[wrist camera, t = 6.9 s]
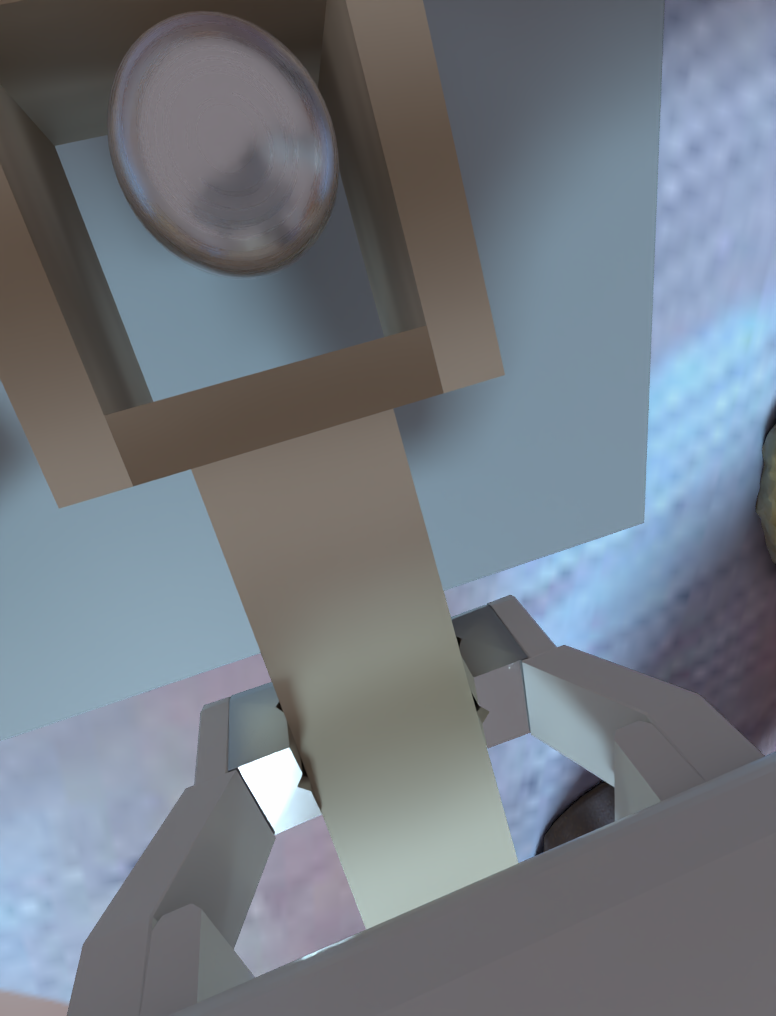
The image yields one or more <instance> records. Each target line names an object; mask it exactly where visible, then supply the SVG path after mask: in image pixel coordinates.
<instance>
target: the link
mask: <svg viewBox="0 0 776 1016" xmlns="http://www.w3.org/2000/svg"><path fill="white" fill-rule="evenodd" d="M196 11H211V12H221V13H225V14H229V15H233V16H237V17H239V18H242V19H244V20H247V21H249V22H251V23H253V24H255V25H257V26H259V27H260V28H262V29H264V30H265V31H267V32H269V33H270V34H271V35H272V36H274V37H275V38H276V39H278V40H279V41H280V42H282V43H283V44H284V45H285V46H286V47H287V48H288V49H289V50H290V51H291V52H292V53H293V54H294V55H295V56H296V57H297V59H298V60H299V61H300V62H301V63H302V65H303V66H304V67H305V68H306V70H307V71H308V73H309V74H310V76H311V77H312V79H313V80H314V82H315V84H316V85H317V87H318V89H319V91H320V93H321V95H322V97H323V99H324V101H325V104H326V106H327V109H328V112H329V114H330V117H331V120H332V124H333V128H334V132H335V136H336V142H337V148H338V158H339V171H340V175H341V179H342V183H343V186H344V190H345V194H346V197H347V201H348V205H349V208H350V212H351V216H352V219H353V223H354V227H355V231H356V234H357V238H358V242H359V245H360V249H361V253H362V256H363V260H364V264H365V268H366V271H367V275H368V279H369V282H370V286H371V290H372V293H373V297H374V301H375V305H376V308H377V312H378V316H379V319H380V323H381V327H382V330H383V334H384V337H383V338H379V339H376V340H372V341H369V342H365V343H362V344H358V345H354V346H351V347H347V348H344V349H340V350H337V351H333V352H329V353H326V354H322V355H319V356H315V357H312V358H308V359H305V360H301V361H297V362H294V363H290V364H287V365H283V366H280V367H276V368H272V369H269V370H265V371H262V372H258V373H255V374H251V375H247V376H244V377H240V378H237V379H233V380H230V381H226V382H222V383H219V384H215V385H212V386H208V387H205V388H201V389H198V390H194V391H190V392H187V393H183V394H180V395H176V396H173V397H169V398H165V399H162V400H158V401H155V402H153V399H152V397H151V394H150V391H149V389H148V386H147V384H146V381H145V379H144V376H143V373H142V371H141V368H140V366H139V363H138V360H137V358H136V355H135V353H134V350H133V347H132V345H131V342H130V340H129V337H128V334H127V332H126V329H125V327H124V324H123V322H122V319H121V316H120V314H119V311H118V309H117V306H116V303H115V301H114V298H113V296H112V293H111V290H110V288H109V285H108V283H107V280H106V278H105V275H104V272H103V270H102V267H101V265H100V262H99V259H98V257H97V254H96V252H95V249H94V246H93V244H92V241H91V239H90V236H89V234H88V231H87V228H86V226H85V223H84V221H83V218H82V215H81V213H80V210H79V208H78V205H77V202H76V200H75V197H74V195H73V192H72V189H71V187H70V184H69V182H68V179H67V177H66V174H65V171H64V169H63V166H62V164H61V161H60V158H59V156H58V153H57V151H56V148H55V146H57V145H62V144H67V143H71V142H76V141H81V140H85V139H90V138H95V137H100V136H104V135H108V134H107V109H108V102H109V96H110V90H111V87H112V83H113V80H114V77H115V74H116V72H117V70H118V67H119V65H120V63H121V61H122V59H123V57H124V56H125V54H126V53H127V51H128V50H129V49H130V47H131V46H132V44H133V43H134V42H135V41H136V40H137V39H138V38H139V37H140V36H141V35H142V34H143V33H144V32H146V31H147V30H148V29H150V28H151V27H152V26H154V25H155V24H157V23H159V22H161V21H163V20H165V19H167V18H169V17H171V16H175V15H179V14H182V13H186V12H196ZM504 375H505V372H504V368H503V363H502V359H501V354H500V349H499V345H498V340H497V336H496V331H495V327H494V322H493V318H492V313H491V308H490V304H489V299H488V295H487V290H486V286H485V281H484V277H483V272H482V267H481V263H480V258H479V254H478V249H477V245H476V240H475V236H474V231H473V226H472V222H471V217H470V213H469V208H468V204H467V199H466V195H465V190H464V185H463V181H462V176H461V172H460V167H459V163H458V158H457V153H456V149H455V144H454V140H453V135H452V131H451V126H450V122H449V117H448V112H447V108H446V103H445V99H444V94H443V90H442V85H441V81H440V76H439V71H438V67H437V62H436V58H435V53H434V49H433V44H432V40H431V35H430V30H429V26H428V21H427V17H426V12H425V8H424V3H423V0H0V380H1V382H2V384H3V386H4V389H5V391H6V393H7V395H8V397H9V400H10V402H11V404H12V406H13V409H14V411H15V413H16V415H17V417H18V420H19V422H20V424H21V426H22V428H23V431H24V433H25V435H26V437H27V439H28V442H29V444H30V446H31V448H32V450H33V453H34V455H35V457H36V459H37V461H38V464H39V466H40V468H41V470H42V473H43V475H44V477H45V479H46V481H47V484H48V486H49V488H50V490H51V492H52V495H53V497H54V499H55V501H56V503H57V506H58V508H59V509H60V508H63V507H67V506H70V505H73V504H77V503H80V502H83V501H87V500H90V499H93V498H97V497H100V496H103V495H107V494H110V493H113V492H117V491H120V490H123V489H127V488H130V487H133V486H137V485H140V484H143V483H147V482H150V481H153V480H157V479H160V478H163V477H167V476H170V475H173V474H177V473H180V472H183V471H187V470H190V469H191V471H192V473H193V476H194V479H195V481H196V484H197V486H198V489H199V492H200V494H201V497H202V500H203V502H204V505H205V507H206V510H207V513H208V515H209V518H210V521H211V523H212V526H213V528H214V531H215V534H216V536H217V539H218V542H219V544H220V547H221V549H222V552H223V555H224V557H225V560H226V563H227V565H228V568H229V570H230V573H231V576H232V578H233V581H234V584H235V586H236V589H237V591H238V594H239V597H240V599H241V602H242V605H243V607H244V610H245V612H246V615H247V618H248V620H249V623H250V626H251V628H252V631H253V633H254V636H255V639H256V641H257V644H258V647H259V649H260V652H261V655H262V657H263V660H264V662H265V665H266V668H267V670H268V673H269V676H270V678H271V681H272V683H273V686H274V689H275V691H276V694H277V697H278V699H279V702H280V704H281V707H282V710H283V712H284V715H285V718H286V720H287V722H288V724H289V727H290V729H291V732H292V734H293V737H294V740H295V742H296V745H297V747H298V750H299V752H300V756H301V760H302V762H303V765H304V767H305V770H306V773H307V775H308V777H309V779H310V781H311V784H312V787H313V789H314V792H315V795H316V798H317V800H318V803H319V806H320V808H321V812H322V815H323V817H324V820H325V823H326V825H327V828H328V830H329V833H330V836H331V838H332V841H333V844H334V846H335V849H336V851H337V854H338V857H339V859H340V862H341V865H342V867H343V870H344V873H345V875H346V878H347V880H348V883H349V886H350V888H351V891H352V894H353V896H354V899H355V901H356V904H357V907H358V909H359V912H360V915H361V917H362V920H363V922H364V925H365V928H366V929H369V928H371V927H373V926H375V925H378V924H380V923H382V922H385V921H387V920H389V919H392V918H394V917H396V916H398V915H401V914H403V913H405V912H408V911H410V910H412V909H414V908H417V907H419V906H421V905H424V904H426V903H428V902H431V901H433V900H435V899H437V898H440V897H442V896H444V895H447V894H449V893H451V892H454V891H456V890H458V889H460V888H463V887H465V886H467V885H470V884H472V883H474V882H476V881H479V880H481V879H483V878H486V877H488V876H490V875H493V874H495V873H497V872H499V871H502V870H504V869H506V868H509V867H511V866H513V865H516V864H518V860H517V856H516V853H515V849H514V845H513V842H512V838H511V835H510V831H509V827H508V824H507V820H506V816H505V813H504V809H503V806H502V802H501V798H500V795H499V791H498V787H497V784H496V780H495V776H494V773H493V769H492V766H491V762H490V758H489V755H488V751H487V747H486V744H485V740H484V737H483V734H482V730H481V727H480V723H479V720H478V716H477V713H476V712H477V711H476V707H475V704H474V700H473V697H472V693H471V690H470V688H469V684H468V680H467V677H466V673H465V669H464V666H463V662H462V658H461V653H460V649H459V646H458V642H457V638H456V635H455V631H454V627H453V624H452V620H451V617H450V613H449V609H448V606H447V602H446V598H445V595H444V591H443V588H442V584H441V580H440V577H439V573H438V569H437V566H436V562H435V558H434V555H433V551H432V548H431V544H430V540H429V537H428V533H427V529H426V526H425V522H424V519H423V515H422V511H421V508H420V504H419V500H418V497H417V493H416V489H415V486H414V482H413V479H412V475H411V471H410V468H409V464H408V460H407V457H406V453H405V449H404V446H403V442H402V439H401V435H400V431H399V428H398V424H397V420H396V417H395V413H394V410H393V408H397V407H400V406H404V405H407V404H410V403H414V402H417V401H420V400H424V399H427V398H430V397H434V396H437V395H440V394H444V393H447V392H450V391H454V390H457V389H460V388H464V387H467V386H470V385H474V384H477V383H480V382H484V381H487V380H490V379H494V378H497V377H500V376H504Z"/></svg>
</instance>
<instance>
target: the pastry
mask: <svg viewBox="0 0 776 1016" xmlns="http://www.w3.org/2000/svg"><path fill="white" fill-rule="evenodd" d="M762 453H763V458H764V467H763V472H762V476H761V482H760V491H759V493H758V496H757V501H756V513H757V514H758V516H759V517H760V518H761V525H762V528H763V531H764V535H765V542H766V546H767V548H768V551H769V553H770V555H771V558H772V561H773V562H774V563H775V564H776V424H775V425H774V427H773V428H772V429H771V430H770V432H769V433H768V435H767V437H766V440H765V443H764V445H763V447H762Z"/></svg>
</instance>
